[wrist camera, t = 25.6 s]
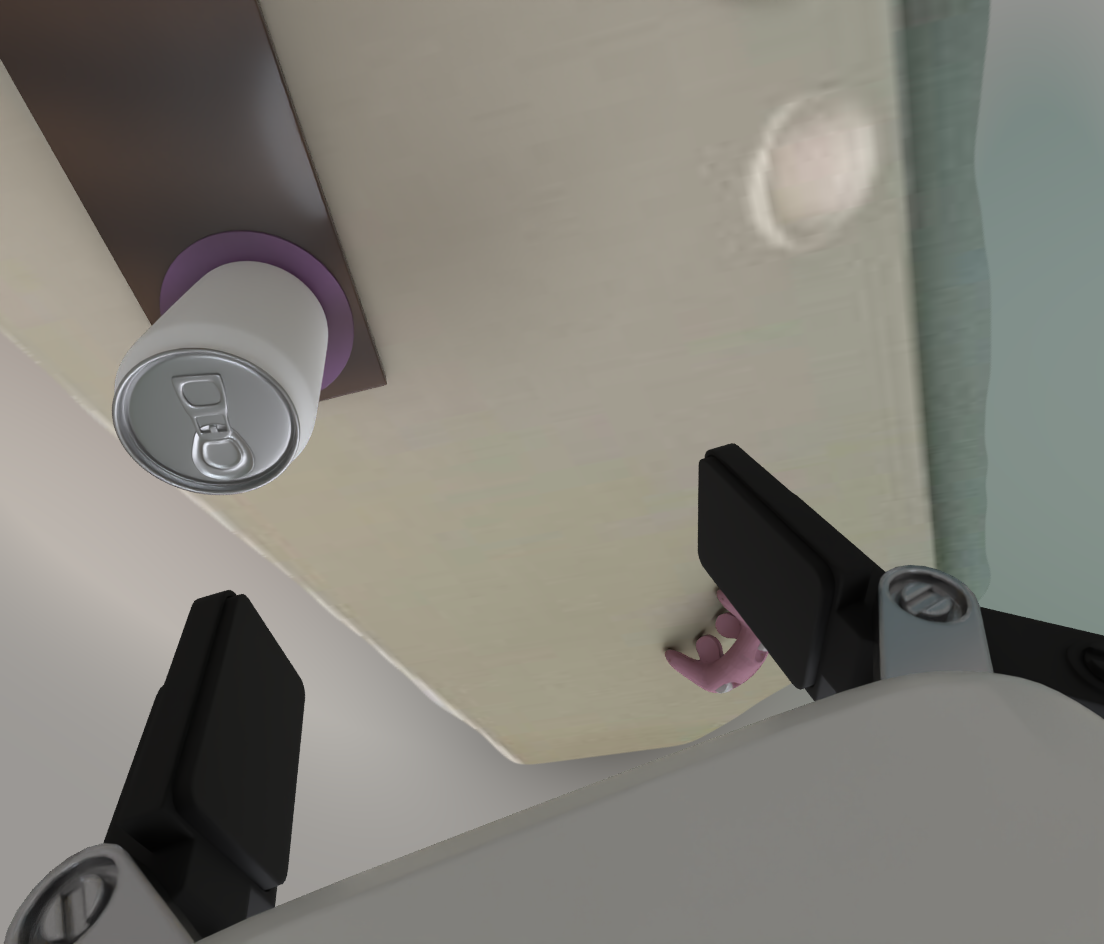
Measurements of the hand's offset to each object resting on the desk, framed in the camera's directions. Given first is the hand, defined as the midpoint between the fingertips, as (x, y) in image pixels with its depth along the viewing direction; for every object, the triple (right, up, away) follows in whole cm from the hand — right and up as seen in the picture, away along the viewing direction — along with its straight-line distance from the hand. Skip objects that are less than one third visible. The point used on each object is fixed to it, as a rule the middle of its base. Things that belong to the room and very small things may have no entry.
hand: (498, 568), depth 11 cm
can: (-14, +10, +18) cm, 25 cm away
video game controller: (+17, -13, +44) cm, 49 cm away
